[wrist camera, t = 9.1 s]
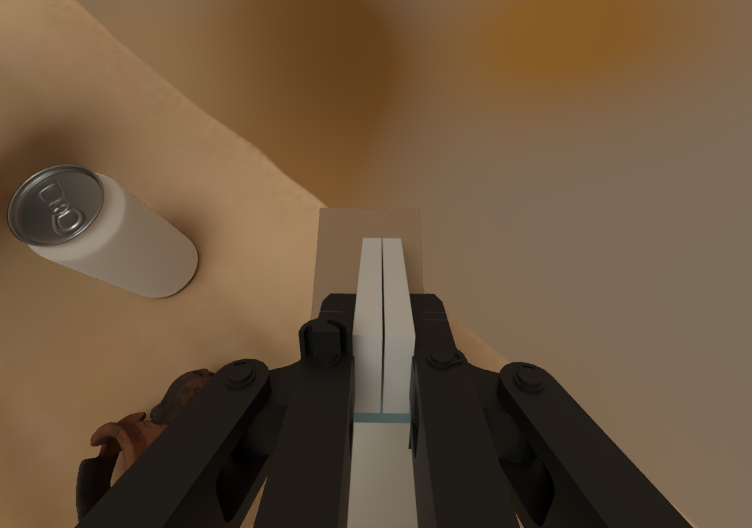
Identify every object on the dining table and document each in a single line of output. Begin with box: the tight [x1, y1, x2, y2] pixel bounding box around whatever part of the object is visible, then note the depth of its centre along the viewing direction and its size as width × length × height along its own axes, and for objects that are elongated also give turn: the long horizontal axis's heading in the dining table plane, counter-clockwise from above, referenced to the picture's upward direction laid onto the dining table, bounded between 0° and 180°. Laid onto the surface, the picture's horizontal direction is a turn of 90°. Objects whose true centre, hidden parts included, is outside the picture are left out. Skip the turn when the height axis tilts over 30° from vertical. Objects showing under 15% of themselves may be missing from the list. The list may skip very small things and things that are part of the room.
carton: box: [347, 423, 418, 528], centre depth 22 cm, size 14×10×10 cm
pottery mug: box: [76, 369, 214, 522], centre depth 26 cm, size 12×10×8 cm
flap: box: [311, 208, 423, 423], centre depth 19 cm, size 7×10×10 cm
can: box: [7, 164, 198, 298], centre depth 27 cm, size 6×6×12 cm
